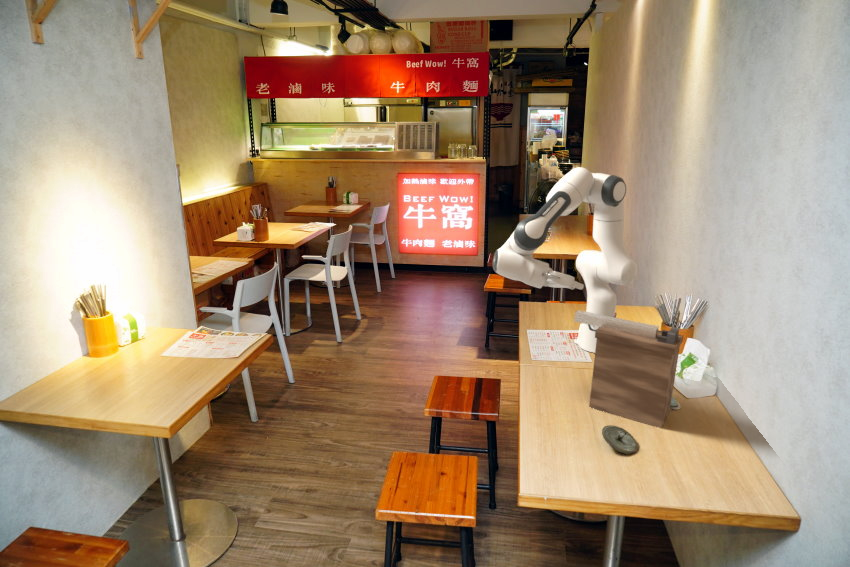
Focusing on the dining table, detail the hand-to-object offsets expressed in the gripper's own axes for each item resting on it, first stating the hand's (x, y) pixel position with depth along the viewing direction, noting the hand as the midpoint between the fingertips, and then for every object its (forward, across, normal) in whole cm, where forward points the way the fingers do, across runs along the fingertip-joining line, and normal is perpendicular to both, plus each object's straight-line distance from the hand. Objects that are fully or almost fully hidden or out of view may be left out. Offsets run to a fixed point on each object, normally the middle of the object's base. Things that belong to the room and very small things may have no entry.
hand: (578, 287), depth 193 cm
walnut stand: (+25, -9, +33) cm, 42 cm away
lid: (+16, -29, +42) cm, 54 cm away
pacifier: (+39, -6, +28) cm, 48 cm away
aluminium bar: (+11, -12, +10) cm, 19 cm away
